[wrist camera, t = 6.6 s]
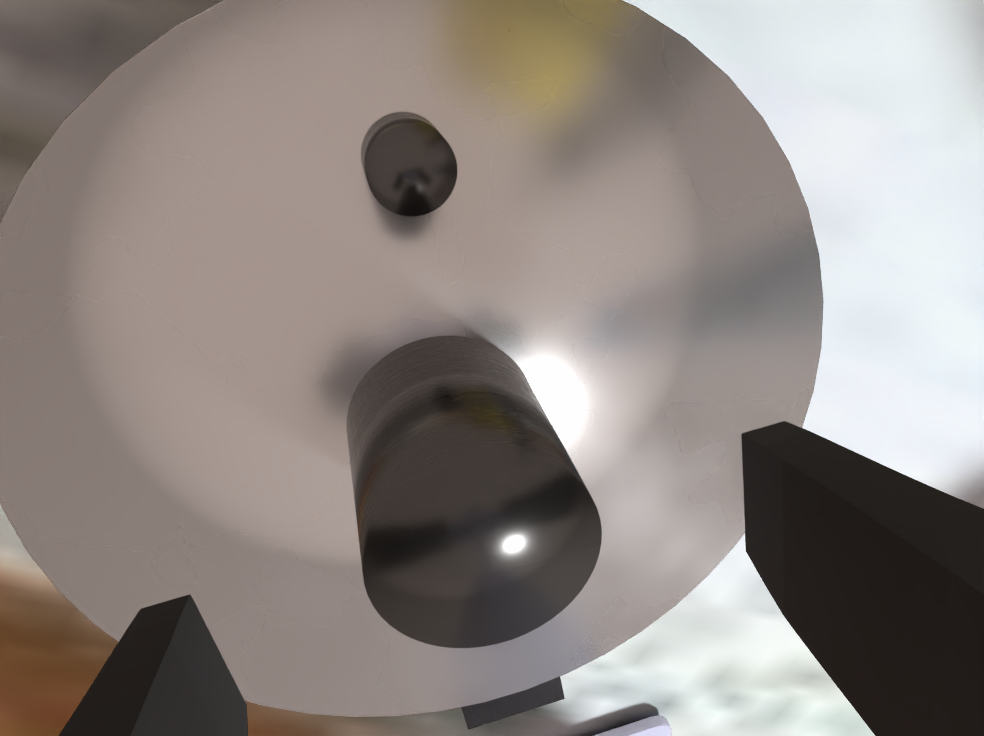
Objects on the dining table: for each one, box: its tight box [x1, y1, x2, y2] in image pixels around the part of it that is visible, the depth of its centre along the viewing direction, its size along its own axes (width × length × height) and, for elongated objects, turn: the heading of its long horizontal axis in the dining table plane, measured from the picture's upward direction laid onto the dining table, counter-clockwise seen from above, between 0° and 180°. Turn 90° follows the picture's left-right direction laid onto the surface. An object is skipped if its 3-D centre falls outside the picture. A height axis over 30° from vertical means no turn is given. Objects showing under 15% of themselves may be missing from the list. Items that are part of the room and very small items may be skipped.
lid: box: [0, 0, 823, 717], centre depth 12 cm, size 14×14×4 cm
